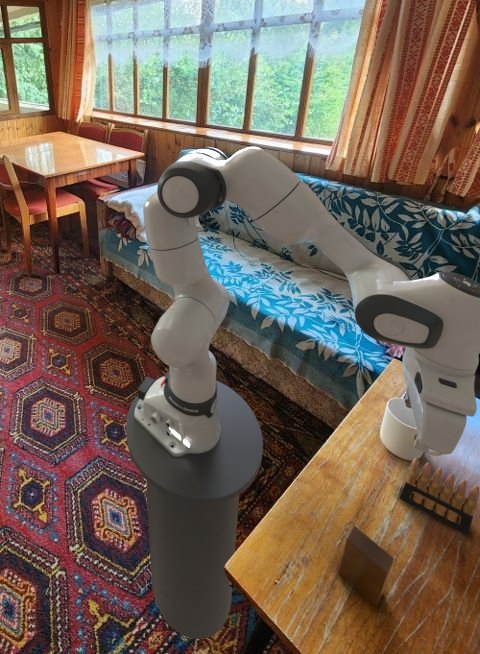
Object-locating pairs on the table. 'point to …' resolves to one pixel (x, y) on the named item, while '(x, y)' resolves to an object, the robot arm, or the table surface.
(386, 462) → the table surface
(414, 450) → the mug
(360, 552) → the walnut block
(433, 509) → the ammunition clip
